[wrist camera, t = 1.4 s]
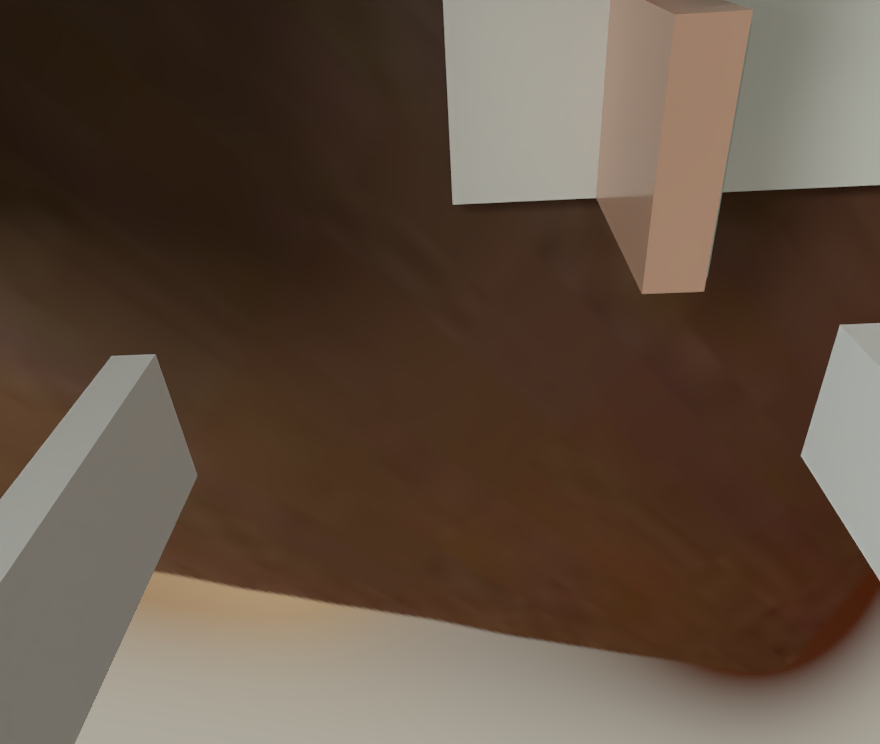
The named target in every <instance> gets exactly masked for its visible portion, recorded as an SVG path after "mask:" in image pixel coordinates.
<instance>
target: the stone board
mask: <svg viewBox="0 0 880 744" xmlns="http://www.w3.org/2000/svg"><path fill="white" fill-rule="evenodd" d="M725 1H728V2H731V3H734V4H737V5H740V6H743V7H746V8H749V9H752V10H753V13H752V19H751V23H752V27H751V33H750V38H749V44H748V50H747V55H746V61H745V67H744V73H743V78H742V84H741V90H740V95H739V101H738V107H737V113H736V118H735V124H734V130H733V135H732V141H731V147H730V153H729V158H728V164H727V170H726V175H725V181H724V187H723V192H738V191H760V190H781V189H803V188H825V187H847V186H868V185H880V0H725ZM609 9H610V0H443V14H444V35H445V56H446V77H447V98H448V119H449V140H450V161H451V182H452V203H453V205H456V204H478V203H500V202H521V201H543V200H565V199H586V198H596V192H597V178H598V164H599V150H600V136H601V122H602V108H603V94H604V80H605V65H606V51H607V37H608V23H609Z"/></svg>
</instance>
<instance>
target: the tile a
mask: <svg viewBox="0 0 880 744" xmlns="http://www.w3.org/2000/svg"><path fill="white" fill-rule="evenodd" d="M752 13H753V10H752V9H749V8H746V7H743V6H740V5H737V4H734V3H731V2H728V1H725V0H610V9H609V23H608V37H607V51H606V65H605V80H604V94H603V108H602V122H601V136H600V150H599V164H598V178H597V192H596V199H597V201H598V203H599V205H600V207H601V209H602V212H603V214H604V216H605V218H606V220H607V222H608V224H609V226H610V228H611V230H612V232H613V235H614V237H615V239H616V241H617V243H618V245H619V247H620V249H621V251H622V253H623V256H624V258H625V260H626V262H627V264H628V266H629V268H630V270H631V272H632V274H633V276H634V279H635V281H636V283H637V285H638V287H639V289H640V291H641V293H642V294H655V293H681V292H704V289H705V283H706V278H708V273H709V267H710V261H711V255H712V250H713V244H714V238H715V233H716V227H717V221H718V215H719V210H720V204H721V198H722V193H723V187H724V181H725V175H726V170H727V164H728V158H729V153H730V147H731V141H732V135H733V130H734V124H735V118H736V113H737V107H738V101H739V95H740V90H741V84H742V78H743V73H744V67H745V61H746V55H747V50H748V44H749V38H750V33H751V27H752V23H751V19H752Z"/></svg>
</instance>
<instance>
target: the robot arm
mask: <svg viewBox="0 0 880 744" xmlns="http://www.w3.org/2000/svg"><path fill="white" fill-rule="evenodd" d="M801 457H802V458H803V460H804V462H805V463H806V465H807V466H808V468H809V469H810V471H811V473H812V474H813V476H814V477H815V479H816V481H817V482H818V484H819V485H820V487H821V489H822V490H823V492H824V493H825V495H826V496H827V498H828V500H829V501H830V503H831V504H832V506H833V508H834V509H835V511H836V512H837V514H838V515H839V517H840V519H841V520H842V522H843V523H844V525H845V527H846V528H847V530H848V531H849V533H850V535H851V536H852V538H853V539H854V541H855V542H856V544H857V546H858V547H859V549H860V550H861V552H862V554H863V555H864V557H865V558H866V560H867V562H868V563H869V565H870V566H871V568H872V569H873V571H874V573H875V574H876V576H877V577H878V579H879V581H880V323H871V324H848V325H840V326H839V329H838V333H837V336H836V340H835V343H834V346H833V350H832V353H831V356H830V360H829V363H828V366H827V370H826V373H825V376H824V380H823V383H822V386H821V390H820V393H819V396H818V400H817V403H816V407H815V410H814V413H813V417H812V420H811V423H810V427H809V430H808V433H807V437H806V440H805V443H804V447H803V450H802V453H801ZM196 478H197V473H196V470H195V467H194V464H193V461H192V458H191V455H190V453H189V450H188V447H187V444H186V441H185V438H184V435H183V432H182V429H181V426H180V424H179V421H178V418H177V415H176V412H175V409H174V406H173V403H172V400H171V397H170V395H169V392H168V389H167V386H166V383H165V380H164V377H163V374H162V371H161V368H160V366H159V363H158V360H157V357H156V354H147V355H124V356H111V357H110V359H109V360H108V361H107V362H106V364H105V365H104V366H103V368H102V369H101V370H100V372H99V373H98V374H97V375H96V377H95V378H94V379H93V381H92V382H91V383H90V384H89V386H88V387H87V388H86V390H85V391H84V392H83V393H82V395H81V396H80V397H79V399H78V400H77V401H76V402H75V404H74V405H73V406H72V408H71V409H70V410H69V411H68V413H67V414H66V415H65V417H64V418H63V419H62V421H61V422H60V423H59V424H58V426H57V427H56V428H55V430H54V431H53V432H52V433H51V435H50V436H49V437H48V439H47V440H46V441H45V442H44V444H43V445H42V446H41V448H40V449H39V450H38V451H37V453H36V454H35V455H34V457H33V458H32V459H31V460H30V462H29V463H28V464H27V466H26V467H25V468H24V469H23V471H22V472H21V473H20V475H19V476H18V477H17V479H16V480H15V481H14V482H13V484H12V485H11V486H10V488H9V489H8V490H7V491H6V493H5V494H4V495H3V497H2V498H1V499H0V744H74V743H75V742H76V739H77V737H78V735H79V733H80V731H81V728H82V726H83V724H84V722H85V720H86V718H87V715H88V713H89V711H90V709H91V707H92V704H93V702H94V700H95V698H96V696H97V694H98V691H99V689H100V687H101V685H102V683H103V681H104V678H105V676H106V674H107V672H108V670H109V667H110V665H111V663H112V661H113V658H114V657H115V654H116V652H117V650H118V648H119V646H120V644H121V641H122V639H123V637H124V635H125V632H126V630H127V628H128V626H129V624H130V622H131V620H132V617H133V615H134V613H135V611H136V609H137V606H138V604H139V602H140V600H141V598H142V595H143V593H144V591H145V589H146V587H147V585H148V583H149V580H150V578H151V576H152V574H153V572H154V569H155V567H156V565H157V563H158V561H159V559H160V556H161V554H162V552H163V550H164V548H165V546H166V543H167V541H168V539H169V537H170V535H171V532H172V530H173V528H174V526H175V524H176V522H177V519H178V517H179V515H180V513H181V511H182V509H183V506H184V504H185V502H186V500H187V498H188V495H189V493H190V491H191V489H192V487H193V485H194V482H195V480H196Z"/></svg>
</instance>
